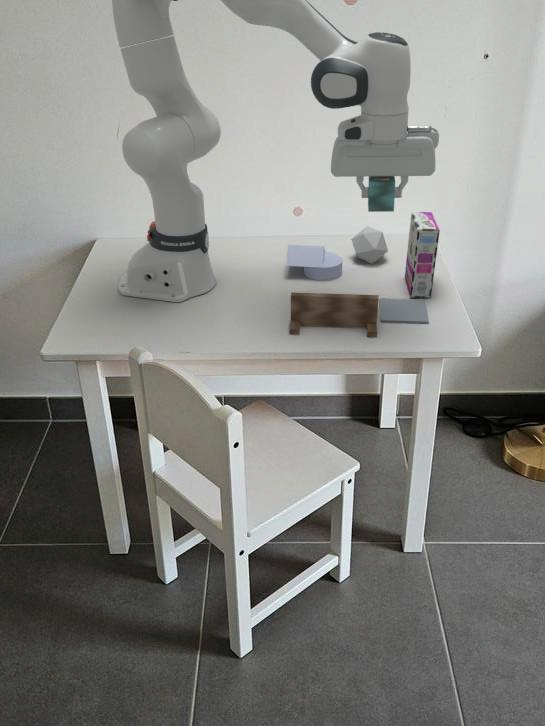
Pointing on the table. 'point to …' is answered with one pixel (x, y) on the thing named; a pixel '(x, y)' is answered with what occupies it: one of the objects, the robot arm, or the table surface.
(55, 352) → the table surface
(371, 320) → the walnut board
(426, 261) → the candy bar box
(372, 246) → the die
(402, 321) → the grey mat
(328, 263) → the wedge on round base
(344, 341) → the table surface
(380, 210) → the teal block
